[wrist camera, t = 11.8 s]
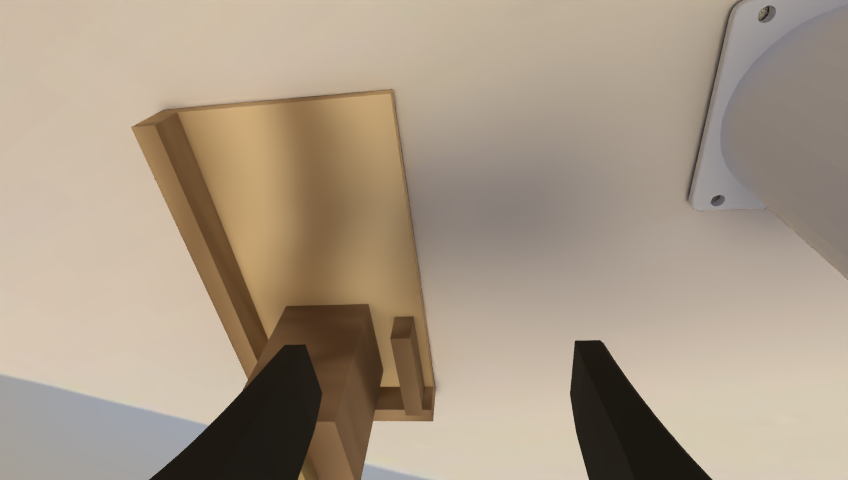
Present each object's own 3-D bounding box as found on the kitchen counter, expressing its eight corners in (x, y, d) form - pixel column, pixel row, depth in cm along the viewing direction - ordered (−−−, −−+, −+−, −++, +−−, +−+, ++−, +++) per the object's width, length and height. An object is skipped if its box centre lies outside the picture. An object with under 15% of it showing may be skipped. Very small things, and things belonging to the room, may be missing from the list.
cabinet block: (368, 303, 24) (329, 440, 17) (383, 370, 26) (354, 510, 20) (286, 306, 24) (217, 438, 18) (308, 370, 27) (256, 506, 20)
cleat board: (392, 89, 18) (383, 106, 16) (435, 389, 28) (432, 421, 26) (163, 110, 20) (131, 127, 18) (279, 389, 29) (266, 419, 27)
